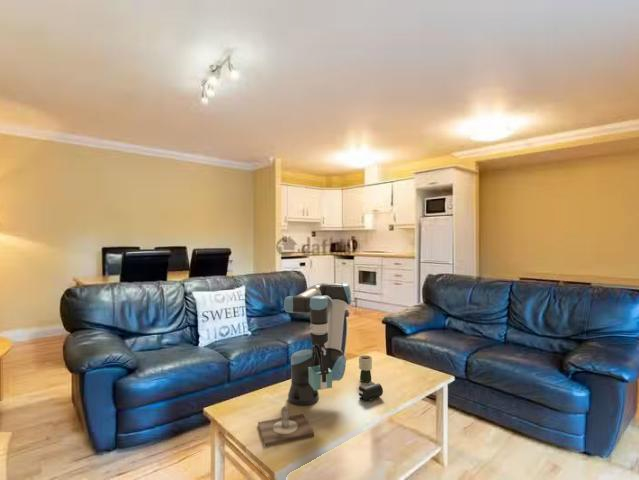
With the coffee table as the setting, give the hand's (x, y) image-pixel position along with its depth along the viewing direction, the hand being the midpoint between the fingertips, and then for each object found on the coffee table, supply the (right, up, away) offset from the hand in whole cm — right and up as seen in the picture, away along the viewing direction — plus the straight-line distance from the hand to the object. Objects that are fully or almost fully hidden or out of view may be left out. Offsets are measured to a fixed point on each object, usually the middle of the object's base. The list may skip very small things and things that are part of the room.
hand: (320, 384), depth 154 cm
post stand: (-14, -17, -6) cm, 23 cm away
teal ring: (0, 0, 0) cm, 0 cm away
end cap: (+25, -16, +21) cm, 36 cm away
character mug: (+25, -15, +42) cm, 52 cm away
